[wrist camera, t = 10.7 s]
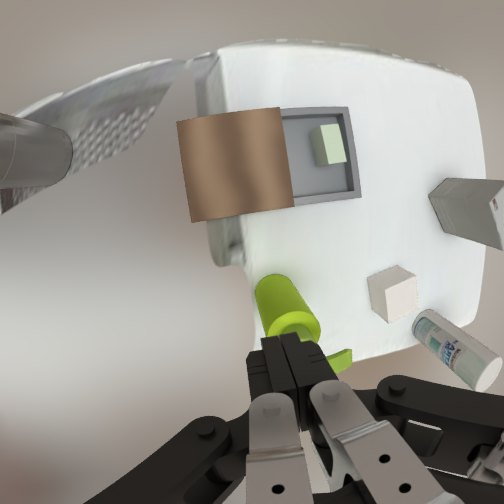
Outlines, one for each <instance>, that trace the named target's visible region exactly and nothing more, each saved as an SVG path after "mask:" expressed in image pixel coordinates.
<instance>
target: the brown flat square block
mask: <svg viewBox="0 0 504 504" xmlns="http://www.w3.org/2000/svg"><path fill="white" fill-rule="evenodd" d="M177 130H178V138H179V145H180V153H181V159H182V166H183V173H184V180H185V186H186V192H187V199H188V205H189V210H190V216H191V222H192V223H193V222H199V221H205V220H211V219H217V218H223V217H229V216H235V215H242V214H248V213H254V212H261V211H268V210H274V209H281V208H288V207H295V205H294V197H293V190H292V182H291V175H290V168H289V162H288V155H287V149H286V142H285V136H284V130H283V124H282V118H281V112H280V107H275V108H264V109H254V110H245V111H237V112H230V113H223V114H216V115H210V116H204V117H199V118H193V119H188V120H183V121H178V122H177Z"/></svg>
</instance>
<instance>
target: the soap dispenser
mask: <svg viewBox="0 0 504 504" xmlns="http://www.w3.org/2000/svg"><path fill="white" fill-rule="evenodd" d="M255 297H256V301H257V305H258V309H259V313H260V316H261V320H262V324H263V327H264V331H265V335H266V337H270V336H276V335H278V337H279V335H280V334H286V333H291V332H297V334H298V336H299V338H300V340H301V342H304V341H309V340H311V341H313V342H314V343H316V344H317V342H318V340H319V338H320V333H321V329H320V325H319V322H318V320H317V319H316V317H315V316H314V314H313V313H312V312H311V310H310V309H309V307H308V306H307V304H306V303H305V301H304V300H303V298H302V297H301V295H300V294H299V292H298V291H297V289H296V288H295V287H294V285H293V284H292V282H291V281H290V280H289V279H288V278H287V277H285V276H283V275H279V274H273V275H269V276H267V277H265V278H263V279H262V280H261V281H260V282H259V283H258V285H257V287H256V291H255ZM326 359H327V360H328V362H329V364H330V365H331V367H332V369H333V371H334V372H335V374H336V373H338V372H341V371H343V370H345V369H347V368H348V367H350V366H351V365H352V350H351V349H344V350H342V351H340V352H338V353H335V354H333V355H330V356H327V357H326Z"/></svg>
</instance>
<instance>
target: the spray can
mask: <svg viewBox="0 0 504 504" xmlns="http://www.w3.org/2000/svg"><path fill="white" fill-rule="evenodd" d="M412 332H413V335H414V336H415V338H417V339H418V340H419V341H420V342H421V343H422V344H423V345H425V346H426V347H427V348H428V349H429V350H430V351H431V352H432V353H433V354H435V355H436V356H437V357H438V358H439V359H440V360H441V361H442V362H443V363H445V364H446V365H447V366H448V367H449V368H450V369H451V370H452V371H453V372H454V373H455V374H457V375H458V376H459V377H460V378H461V379H462V380H463V381H464V382H465V383H466V384H468V386H469V387H471V388H472V389H473V390H474V391H477V392H483V391H484V390H486V389H487V388H488V387H489V386H490V385H491V384H492V383H493V381H494V380H495V379H496V377H497V375H498V374H499V371H500V369H501V366H502V358H501V357H500V356H499V355H497V354H496V353H495V352H493V351H492V350H490V349H489V348H488V347H486V346H485V345H483V344H482V343H481V342H479V341H478V340H476V339H475V338H473V337H472V336H470V335H469V334H467V333H466V332H464V331H463V330H461V329H460V328H459V327H457V326H456V325H454V324H453V323H451V322H450V321H448V320H446V319H445V318H443V317H442V316H440V315H439V314H437V313H436V312H434V311H433V310H425V311H423V312H421V313H420V314H419V315H418V316H417V318H416V319H415V321H414V323H413V327H412Z"/></svg>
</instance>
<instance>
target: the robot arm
mask: <svg viewBox="0 0 504 504" xmlns="http://www.w3.org/2000/svg"><path fill="white" fill-rule="evenodd" d="M71 159H72V144H71V141H70V138H69V137H68V135H67V134H66V133H65V132H64V131H62V130H60V129H56V128H53V127H50V126H47V125H43V124H40V123H36V122H33V121H29V120H26V119H22V118H18V117H14V116H11V115H6V114H2V113H0V189H3V188H17V187H37V186H51V185H54V184H56V183H57V182H59V181H60V180H61V179H62V178H63V177H64V176H65V174H66V173H67V171H68V169H69V166H70V163H71ZM261 345H262V350H258V351H252V352H250V353H249V355H248V357H247V359H246V364H247V372H248V380H249V387H250V395H251V404H250V407H249V409H248V410H247V411H246V412H245V413H244V414H243V415H242V416H240V417H238V418H236V419H234V420H231V421H228V422H226V421H224V420H223V419H221V418H219V417H215V416H204V417H200V418H197V419H195V420H193V421H192V422H190V423H189V424H188V425H187V426H186V427H184V428H183V429H182V430H181V431H180V432H179V433H177V434H176V435H175V436H174V437H173V438H171V439H170V440H169V441H168V442H167V443H165V444H164V445H163V446H162V447H161V448H159V449H158V450H157V451H156V452H154V453H153V454H152V455H150V456H149V457H148V458H147V459H145V460H144V461H143V462H141V463H140V464H139V465H138V466H136V467H135V468H134V469H132V470H131V471H130V472H128V473H127V474H126V475H124V476H123V477H121V478H120V479H119V480H117V481H116V482H115V483H113V484H112V485H110V486H109V487H107V488H106V489H105V490H103V491H102V492H100V493H99V494H97V495H96V496H94V497H93V498H91V499H90V500H88V501H87V502H85V503H84V504H222V503H223V501H225V500H226V498H227V497H228V496H229V495H230V494H231V493H232V492H233V491H234V489H236V487H237V486H238V485H239V484H240V483H241V482H242V480H243V478H244V476H246V504H504V396H500V395H494V394H488V393H482V392H477V391H471V390H466V389H461V388H456V387H451V386H446V385H441V384H437V383H432V382H428V381H424V380H420V379H416V378H411V377H407V376H403V375H392V376H388V377H386V378H384V379H383V380H381V381H380V382H379V384H378V386H377V389H371V390H354V389H351V387H350V386H349V385H348V384H347V383H345V382H343V381H339V379H338V378H337V376H336V374H335V372H334V371H333V369H332V367H331V365H330V364H329V362H328V360H327V359H326V357H325V355H324V354H323V352H322V350H321V348H320V346H319V345H318V344H316V343H314V342H313V341H311V340H309V341H304V342H301V340H300V338H299V336H298V334H297V332H291V333H286V334H280V335H279V337H278V335H276V336H270V337H265V338H261ZM409 420H413V421H417V422H420V423H424V424H428V425H432V426H435V427H439V428H441V429H442V430H436V429H432V428H428V427H424V426H420V425H417V424H413V423H410V422H408V421H409ZM299 425H300V427H299ZM300 428H301V431H302V432H303V431H306V430H309V432H310V435H311V446H312V448H313V450H314V453H315V455H316V457H317V459H318V461H319V464H320V466H321V468H322V470H323V472H324V474H325V476H326V479H327V481H328V483H329V487H330V493H316V494H312V491H311V485H310V480H309V475H308V470H307V464H306V459H305V454H304V450H303V448H302V447H301V441H300V436H299V432H300ZM425 466H428V467H431V468H435V469H439V470H443V471H447V472H451V473H456V474H460V475H465V476H467V477H468V478H464V477H460V476H456V475H452V474H448V473H445V472H441V471H438V470H434V469H429V468H426V467H425Z"/></svg>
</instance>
